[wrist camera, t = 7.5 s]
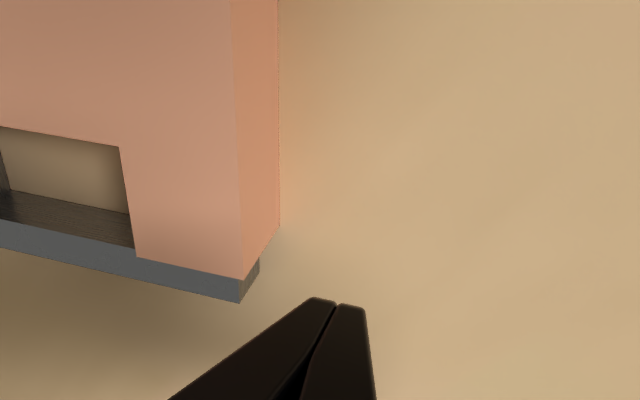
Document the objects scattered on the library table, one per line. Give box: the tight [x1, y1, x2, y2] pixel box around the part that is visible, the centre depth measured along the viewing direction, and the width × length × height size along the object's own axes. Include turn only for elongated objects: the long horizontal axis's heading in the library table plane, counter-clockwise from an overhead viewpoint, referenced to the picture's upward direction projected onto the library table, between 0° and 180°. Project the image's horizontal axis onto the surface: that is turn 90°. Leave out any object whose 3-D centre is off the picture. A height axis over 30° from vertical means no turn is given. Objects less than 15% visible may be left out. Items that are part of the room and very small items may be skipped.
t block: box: [0, 0, 280, 280], centre depth 20 cm, size 12×13×4 cm
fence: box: [0, 153, 259, 304], centre depth 20 cm, size 13×18×2 cm
